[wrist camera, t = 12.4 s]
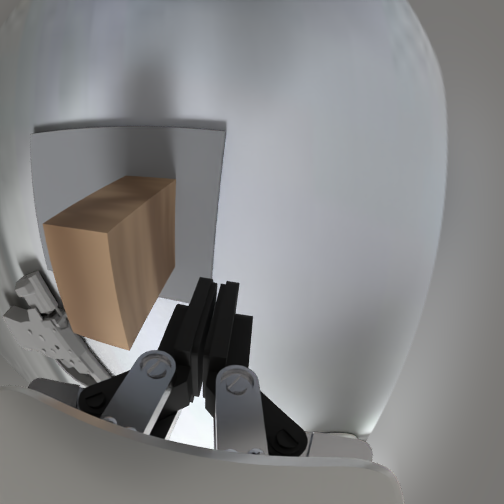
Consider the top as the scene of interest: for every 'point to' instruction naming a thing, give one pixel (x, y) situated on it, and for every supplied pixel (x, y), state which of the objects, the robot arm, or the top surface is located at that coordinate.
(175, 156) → the rubber mat
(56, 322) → the pistol
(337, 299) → the top surface
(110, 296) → the wooden block
